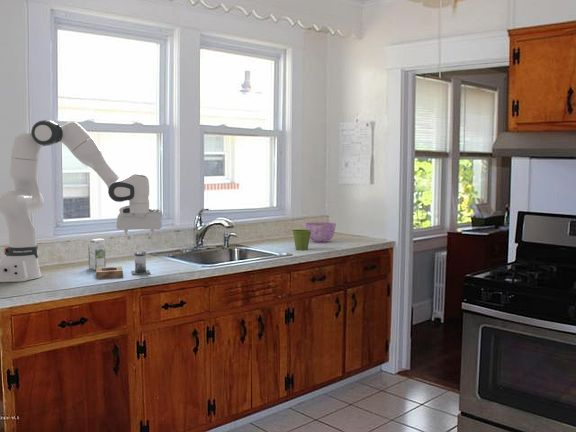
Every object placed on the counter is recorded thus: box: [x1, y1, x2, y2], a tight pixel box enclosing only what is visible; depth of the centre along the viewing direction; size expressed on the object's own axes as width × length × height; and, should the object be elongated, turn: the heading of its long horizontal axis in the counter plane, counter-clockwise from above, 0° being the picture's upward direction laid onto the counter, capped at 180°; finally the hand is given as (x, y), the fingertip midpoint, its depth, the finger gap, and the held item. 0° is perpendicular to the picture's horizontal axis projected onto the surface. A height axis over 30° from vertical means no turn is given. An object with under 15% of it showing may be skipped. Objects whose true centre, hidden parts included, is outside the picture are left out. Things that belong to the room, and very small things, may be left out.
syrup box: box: [88, 237, 107, 271], centre depth 282 cm, size 6×6×14 cm
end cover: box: [133, 251, 147, 273], centre depth 271 cm, size 6×6×9 cm
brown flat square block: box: [95, 266, 124, 280], centre depth 265 cm, size 11×11×3 cm
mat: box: [131, 269, 151, 276], centre depth 272 cm, size 8×8×1 cm
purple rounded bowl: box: [305, 221, 337, 243], centre depth 378 cm, size 20×20×12 cm
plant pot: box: [291, 228, 312, 251], centre depth 345 cm, size 12×12×11 cm
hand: (139, 239), depth 270 cm, fingers open, 8 cm apart
